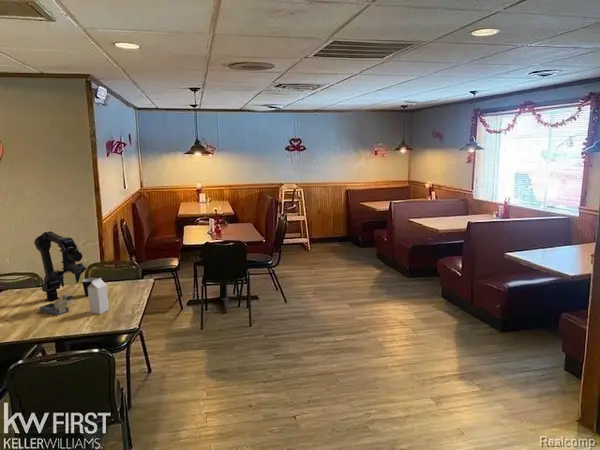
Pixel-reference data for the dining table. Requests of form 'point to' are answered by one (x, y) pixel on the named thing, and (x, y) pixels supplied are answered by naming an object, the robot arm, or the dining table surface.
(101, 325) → the dining table surface
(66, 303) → the block
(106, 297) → the milk carton
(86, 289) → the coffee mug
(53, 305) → the rail
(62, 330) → the dining table surface
